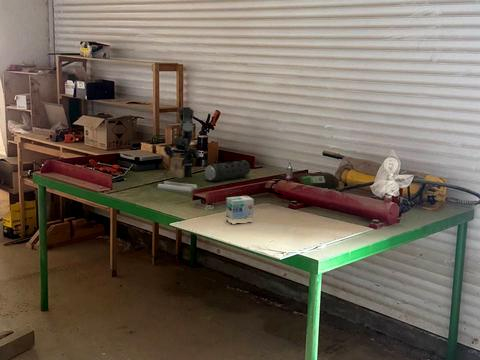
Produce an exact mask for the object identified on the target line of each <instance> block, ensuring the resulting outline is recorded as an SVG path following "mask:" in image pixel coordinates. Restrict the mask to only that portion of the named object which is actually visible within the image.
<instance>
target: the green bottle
mask: <svg viewBox="0 0 480 360" xmlns="http://www.w3.org/2000/svg"><path fill="white" fill-rule="evenodd" d="M287 174H288V173H287ZM287 174H277V176H278V177H277V178H278V179H273V180H281V179H285V178H286V176H287ZM291 174H292V176H293V177H294V178H298V179H299V180H300V182H301V183H303V184H307V185H312V186H318V187H321V188H328V189H335V188H338V189H339V188H340V187H339V186H340V180H339V181H338V179H337V178H336V174H335V175H334V174H333V173H332V172H324V171H323V172H321V171H317V172H304V173H291ZM335 190H336V189H335Z"/></svg>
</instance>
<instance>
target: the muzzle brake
mask: <svg viewBox="0 0 480 360" xmlns="http://www.w3.org/2000/svg"><path fill="white" fill-rule="evenodd" d="M250 171H251V165H250V163H249V161H247V160H246V159H243V160H236V161H229V162H223V163H222V162H221V163H212V164H209V165H207V166H206V167H205V169H204V175H205V178H206V179H207V180H208V181H212V182H214V181H216V182H221V181H220V180H222V181H223V180H226V179H229V178H231V179H236V178H235V177H239V178H242V177H241V176H248V175H249V174H250Z"/></svg>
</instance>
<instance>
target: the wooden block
mask: <svg viewBox="0 0 480 360" xmlns="http://www.w3.org/2000/svg"><path fill="white" fill-rule="evenodd" d="M183 160H184V158H179V157H176V156H175V157H173V158H171V159H170V158H169V166H170V171H169V172H170V175H169V176H170V178H171V177H172V178H179V179H182V178H185V177H184V166H182V162H183Z"/></svg>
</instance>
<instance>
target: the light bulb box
mask: <svg viewBox="0 0 480 360" xmlns="http://www.w3.org/2000/svg"><path fill="white" fill-rule="evenodd" d="M225 202H226V204H225V205H226V207H225V218H226V217H228V218H230V219H232V220H234V219H246V218H253V219H254V202H255V200H254V198H252V197H250V196H249V195H241V196H231V197H226V201H225Z"/></svg>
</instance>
